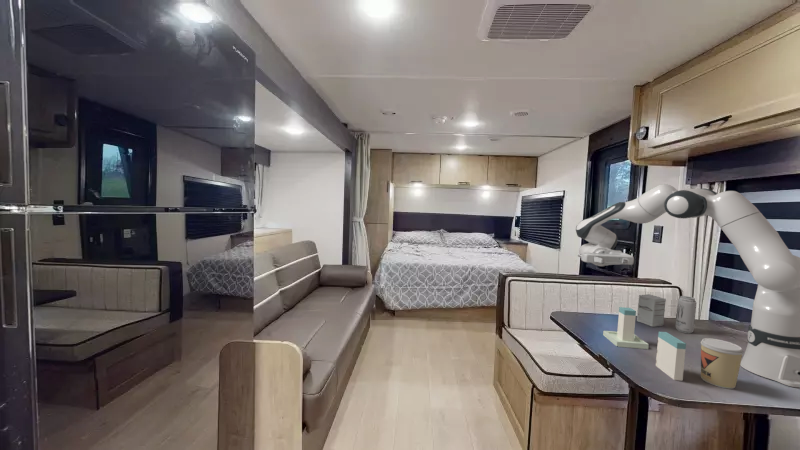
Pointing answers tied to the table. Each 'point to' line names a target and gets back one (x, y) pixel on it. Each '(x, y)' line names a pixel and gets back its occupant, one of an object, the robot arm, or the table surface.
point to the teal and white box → (670, 355)
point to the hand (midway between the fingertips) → (615, 261)
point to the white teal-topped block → (626, 324)
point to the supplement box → (651, 310)
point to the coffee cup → (720, 362)
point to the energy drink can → (686, 314)
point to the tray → (630, 344)
